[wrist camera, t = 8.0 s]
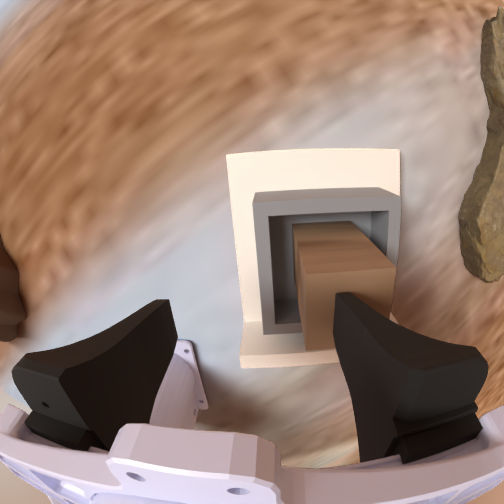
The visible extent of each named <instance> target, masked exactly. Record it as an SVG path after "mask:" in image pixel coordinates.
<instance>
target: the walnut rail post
mask: <svg viewBox="0 0 504 504" xmlns="http://www.w3.org/2000/svg"><path fill="white" fill-rule="evenodd" d="M292 238H293V263H294V282H295V287H296V293H297V299H298V305H299V311H300V318H301V324H302V330H303V337H304V343H305V350H306V351H310V350H322V349H333V348H336V347H335V342H334V337H333V323H334V310H335V294H336V293H344V292H350V293H352V294H353V295H355V296H356V297H357V298H359V299H360V300H362V301H363V302H364V303H366V304H367V305H368V306H370V307H371V308H373V309H374V310H376V311H377V312H378V313H380V314H382V315H383V316H385V317H386V318H388V319H389V317H390V311H391V305H392V298H393V291H394V284H395V276H396V267H395V265H394V264H393V263H392V262H391V261H390V260H389V259H388V258H387V257H386V256H385V255H384V254H383V253H382V252H381V251H380V250H379V249H378V248H377V247H376V246H375V245H374V244H373V243H372V242H371V241H370V240H369V239H368V238H367V237H366V236H365V235H364V234H363V233H362V232H361V231H360V230H359V229H358V228H357V227H356V226H355V225H354V224H353V223H352V222H351V221H332V222H313V223H295V224H292Z"/></svg>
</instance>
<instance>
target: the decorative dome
mask: <svg viewBox="0 0 504 504" xmlns="http://www.w3.org/2000/svg"><path fill="white" fill-rule="evenodd" d="M24 319H26V314H25V311H24V308H23V306H22V303H21V300H20V297H19V272H18V270H17V268H16V267H15V265H14V264H13V262H12V261H11V259H10V258H9V256H8V254H7V253H6V251H5V249H4V246H3V242H2V239H1V235H0V341H3V342H8V341H11V340H13V339H14V338H16V336H17V324H18V323H20V322H21V321H23V320H24Z"/></svg>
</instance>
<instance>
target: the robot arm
mask: <svg viewBox="0 0 504 504" xmlns="http://www.w3.org/2000/svg"><path fill="white" fill-rule="evenodd" d="M333 337H334V342H335V347H336V352H337V355H338V358H339V361H340V364H341V367H342V370H343V373H344V376H345V379H346V382H347V385H348V388H349V391H350V395H351V399H352V404H353V410H354V415H355V422H356V429H357V436H358V445H359V454H360V463H356V464H350V465H344V466H337V467H329V468H320V469H313V468H298V467H287V466H281V454H280V452H279V450H278V449H277V447H276V446H275V444H274V443H272V442H270V441H268V440H266V439H263V438H261V437H259V436H257V435H252V434H245V433H239V432H223V431H206V430H194V427H195V423H196V419H197V415H198V411H199V410H206V409H208V402H207V398H206V395H205V392H204V388H203V385H202V381H201V377H200V374H199V370H198V366H197V363H196V359H195V355H194V351H193V347H192V344H191V343H190V342H189V341H186V340H177V339H178V335H177V331H176V327H175V323H174V319H173V315H172V310H171V306H170V302H169V299H163V300H155V301H152V302H151V303H149V304H147V305H146V306H144V307H142V308H141V309H139V310H138V311H136V312H135V313H133V314H131V315H130V316H128V317H127V318H125V319H124V320H122V321H120V322H118V323H117V324H115V325H113V326H112V327H110V328H108V329H106V330H104V331H102V332H100V333H98V334H96V335H94V336H92V337H89V338H87V339H84V340H81V341H79V342H76V343H73V344H70V345H67V346H63V347H60V348H56V349H51V350H46V351H39V352H33V353H27V354H25V355H24V356H23V358H22V359H21V360H20V361H19V362H18V363H17V364H16V365H15V366H14V367H13V369H12V377H13V380H14V383H15V385H16V386H17V388H18V390H19V391H20V393H21V394H22V396H23V398H24V399H25V400H26V402H27V403H28V405H29V406H30V408H31V409H32V410H33V411H32V412H31V413H30V415H28V414H27V413H26V412H25V411H23V410H21V409H19V408H17V407H15V406H13V405H10V404H8V405H7V406H6V408H5V409H4V410H3V411H2V413H1V414H0V461H1V462H2V463H3V464H4V465H5V466H6V467H8V468H9V469H10V470H11V471H12V472H13V473H14V474H15V475H16V476H18V477H19V478H21V479H22V480H24V481H25V482H27V483H29V484H30V485H32V486H34V487H35V488H37V489H39V490H40V491H42V492H44V493H45V494H47V496H48V498H49V499H50V501H51V502H52V504H466V503H468V502H469V501H471V500H473V499H475V498H477V497H479V496H480V495H482V494H484V493H486V492H488V491H489V490H491V489H493V488H494V487H496V486H497V485H498V484H500V483H501V482H502V481H503V480H504V405H502V406H500V407H498V408H496V409H494V410H492V411H489V412H487V413H486V414H484V415H483V416H481V417H480V418H479V419H478V418H477V416H476V414H475V412H477V410H478V407H477V405H476V403H475V402H474V401H475V399H476V397H477V395H478V394H479V392H480V390H481V388H482V386H483V384H484V382H485V380H486V377H487V374H488V368H489V367H488V363H487V361H486V360H485V359H484V357H483V356H482V355H481V353H480V352H479V351H478V350H477V348H476V347H471V346H464V345H457V344H451V343H447V342H443V341H439V340H436V339H432V338H429V337H426V336H424V335H421V334H418V333H416V332H413V331H411V330H409V329H407V328H405V327H402V326H400V325H398V324H397V323H395V322H393V321H391V320H390V319H388V318H386V317H385V316H383V315H382V314H380V313H378V312H377V311H376V310H374V309H373V308H371V307H370V306H368V305H367V304H366V303H364V302H363V301H362V300H360V299H359V298H357V297H356V296H355V295H353V294H352V293H350V292H344V293H336V294H335V310H334V323H333ZM186 349H187V350H189V351H187V350H186Z"/></svg>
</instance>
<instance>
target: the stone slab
mask: <svg viewBox="0 0 504 504" xmlns="http://www.w3.org/2000/svg"><path fill="white" fill-rule="evenodd" d="M481 77H482V80H483V83H484V87H485V93H486V95H487V99H488V104H489V108H490V117H489V119H488V121H487V130H488V135H487V140H486V144H485V147H484V150H483V155H482V158H481V162H480V164H479V165H478V166H477V168H476V171H475V174H474V178H473V182H472V184H471V185H470V187H469V188H468V190H467V191H466V193H465V195H464V200H463V202H462V205H461V209H460V213H459V220H460V226H461V227H460V234H461V254H462V256H463V258H464V265H465V267H466V268H467V269H468V270H469V272H470V273H472V274H473V275H475V276H477V277H479V278H480V279H481V280H483V281H484V282H486V283H492V282H494V281H498V280H499V279H500V277H501V276H502V275H504V10H503V8H502V7H501V6H499V7H498V11H497V16H496V17H493V18H491V20H488V19H487V20H486V21H485V23H484V25H483V29H482V44H481Z"/></svg>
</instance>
